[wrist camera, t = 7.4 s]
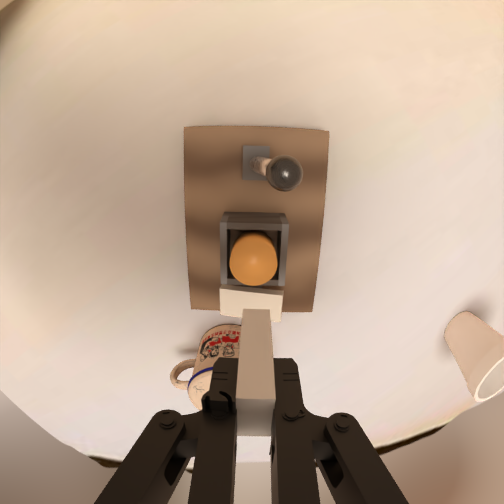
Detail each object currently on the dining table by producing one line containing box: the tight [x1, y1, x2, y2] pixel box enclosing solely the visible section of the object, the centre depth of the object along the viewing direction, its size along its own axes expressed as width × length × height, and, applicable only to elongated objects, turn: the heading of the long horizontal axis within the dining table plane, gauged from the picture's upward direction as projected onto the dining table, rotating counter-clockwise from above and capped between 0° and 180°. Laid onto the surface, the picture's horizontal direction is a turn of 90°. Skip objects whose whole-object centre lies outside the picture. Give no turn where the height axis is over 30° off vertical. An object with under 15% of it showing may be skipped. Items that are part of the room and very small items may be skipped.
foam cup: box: [444, 311, 504, 402], centre depth 32 cm, size 10×9×13 cm
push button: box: [230, 231, 277, 286], centre depth 26 cm, size 4×4×3 cm
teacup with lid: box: [170, 325, 241, 410], centre depth 33 cm, size 12×9×12 cm
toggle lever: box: [250, 155, 303, 192], centre depth 21 cm, size 2×2×9 cm
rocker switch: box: [220, 284, 284, 322], centre depth 30 cm, size 3×6×1 cm, turn 88°
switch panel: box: [184, 126, 329, 312], centre depth 29 cm, size 20×14×6 cm
